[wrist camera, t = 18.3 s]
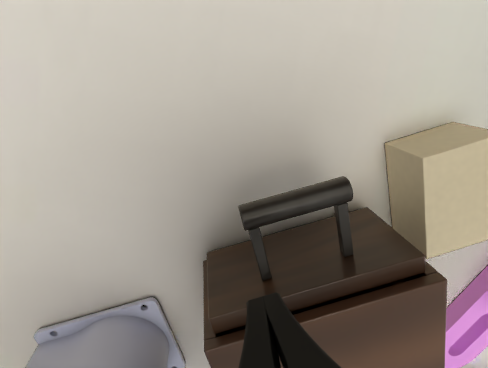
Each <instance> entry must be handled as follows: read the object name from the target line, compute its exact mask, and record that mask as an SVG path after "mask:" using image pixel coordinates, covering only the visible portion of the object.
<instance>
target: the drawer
mask: <svg viewBox="0 0 488 368" xmlns="http://www.w3.org/2000/svg"><path fill="white" fill-rule="evenodd" d="M352 199H353V190H352V187H351V184H350V182H349V180H348V179H347V178H346V177H344V176H342V177H339V178H335V179H332V180H328V181H325V182H321V183H317V184H314V185H310V186H307V187H303V188H300V189H296V190H292V191H289V192H285V193H282V194H278V195H274V196H271V197H267V198H264V199H260V200H257V201H253V202H249V203H246V204H242V205H239V206H238V208H239V212H240V216H241V219H242V223H243V226H244V230H245V231H247V230H248V231H249V234H250V238H251V240H250V241H246V242H243V243H239V244H236V245H232V246H228V247H225V248H221V249H218V250H214V251H211V252H207V282H208V318H209V321H210V324H211V327H212V329H213V332H214V334H217V333H220V332H224V331H227V330H229V334H230V333H233V332H236V331H240V330H243V329H245V328H246V316H247V306H246V303H247V302H248V300H251V299H255V298H258V297H262V296H265V295H269V294H272V293H275V292H277V293H279V294H280V296H281V298H282V299H283V301H284V303H285V304H286V306H287V307H288V309H289V310H290V312H291V313H292V315H294V314H298V313H301V312H304V311H308V310H311V309H315V308H318V307H321V306H325V305H328V304H332V303H335V302H338V301H342V300H345V299H349V298H352V297H355V296H359V295H362V294H366V293H369V292H372V291H376V290H379V289H383V288H386V287H389V286H393V285H396V284H400V283H403V282H406V281H405V280H404V278H407V277H411V276H414V275H417V274H421V273H424V272H425V255H424V254H423V253H422V252H421V251H419V250H418V249H417V248H416V247H415V246H413V245H412V244H411V243H410V242H409V241H407V240H406V239H405V238H404V237H403V236H401V235H400V234H399V233H398V232H397V231H395V230H394V229H393V228H392V227H391V226H389V225H388V224H387V223H386V222H385V221H383V220H382V219H381V218H380V217H379V216H377V215H376V214H375V213H374V212H372V211H371V210H370V209H369V208H368V207H366V208H362V209H359V210H355V211H352V212H348V204H347V202H349V201H351V200H352ZM331 206H334V211H335V216H334V217H331V218H327V219H324V220H320V221H316V222H313V223H309V224H306V225H302V226H299V227H295V228H292V229H288V230H285V231H281V232H278V233H274V234H271V235H267V236H264V237H262V236H261V232H260V228H259V227H261V226H264V225H268V224H271V223H275V222H278V221H282V220H286V219H289V218H293V217H296V216H300V215H303V214H307V213H310V212H314V211H317V210H321V209H324V208H328V207H331Z"/></svg>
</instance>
